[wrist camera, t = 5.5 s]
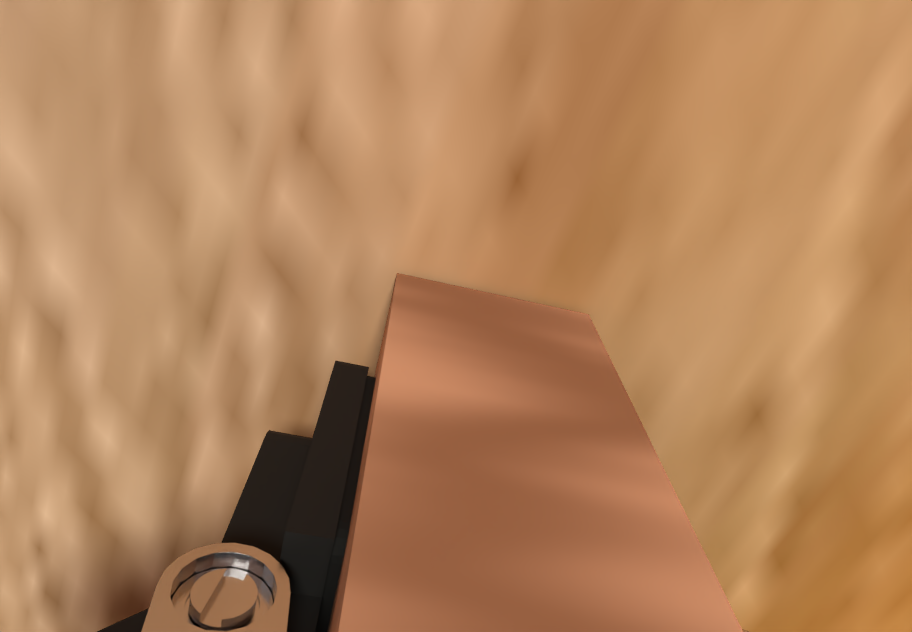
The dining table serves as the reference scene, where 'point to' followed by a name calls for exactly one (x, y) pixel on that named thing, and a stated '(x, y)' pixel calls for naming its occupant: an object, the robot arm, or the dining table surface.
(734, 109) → the dining table surface
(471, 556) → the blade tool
